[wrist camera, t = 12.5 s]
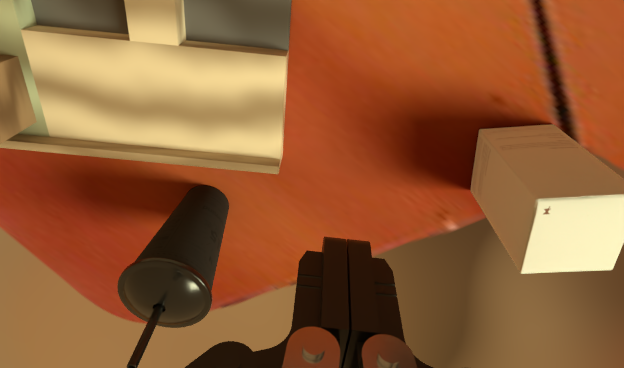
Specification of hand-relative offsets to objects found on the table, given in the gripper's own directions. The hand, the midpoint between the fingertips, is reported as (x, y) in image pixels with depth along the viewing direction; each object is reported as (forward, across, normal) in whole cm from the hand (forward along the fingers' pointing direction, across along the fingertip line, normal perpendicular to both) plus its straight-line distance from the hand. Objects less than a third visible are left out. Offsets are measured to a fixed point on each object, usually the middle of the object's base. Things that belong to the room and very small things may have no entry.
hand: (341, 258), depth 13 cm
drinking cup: (+26, +12, +17) cm, 34 cm away
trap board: (+26, +20, +1) cm, 32 cm away
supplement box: (+27, -19, +8) cm, 34 cm away
